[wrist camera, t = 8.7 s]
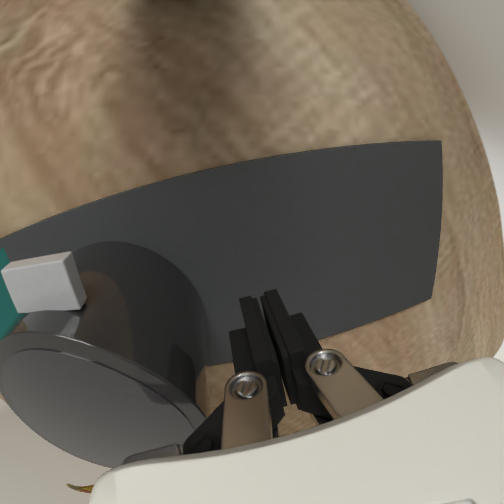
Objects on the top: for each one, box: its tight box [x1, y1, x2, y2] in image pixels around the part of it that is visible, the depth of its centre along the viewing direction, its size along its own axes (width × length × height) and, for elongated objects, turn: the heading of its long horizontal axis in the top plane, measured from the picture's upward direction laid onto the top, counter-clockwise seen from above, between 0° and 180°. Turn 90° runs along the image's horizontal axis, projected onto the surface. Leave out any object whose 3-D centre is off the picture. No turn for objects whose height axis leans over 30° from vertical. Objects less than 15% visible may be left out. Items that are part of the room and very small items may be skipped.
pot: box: [0, 241, 211, 468], centre depth 11 cm, size 12×9×7 cm
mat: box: [0, 141, 443, 366], centre depth 14 cm, size 36×11×1 cm, turn 100°
